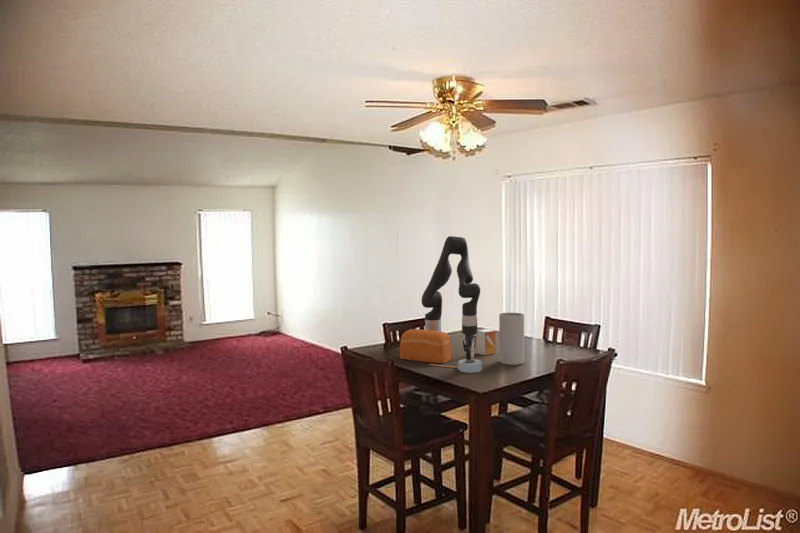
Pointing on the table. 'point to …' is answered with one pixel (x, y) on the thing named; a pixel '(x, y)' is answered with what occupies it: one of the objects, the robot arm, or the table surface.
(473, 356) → the dowel
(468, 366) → the bead
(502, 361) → the cylinder vase
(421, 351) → the bread
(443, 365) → the wooden stick
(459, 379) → the table surface
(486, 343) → the small box
